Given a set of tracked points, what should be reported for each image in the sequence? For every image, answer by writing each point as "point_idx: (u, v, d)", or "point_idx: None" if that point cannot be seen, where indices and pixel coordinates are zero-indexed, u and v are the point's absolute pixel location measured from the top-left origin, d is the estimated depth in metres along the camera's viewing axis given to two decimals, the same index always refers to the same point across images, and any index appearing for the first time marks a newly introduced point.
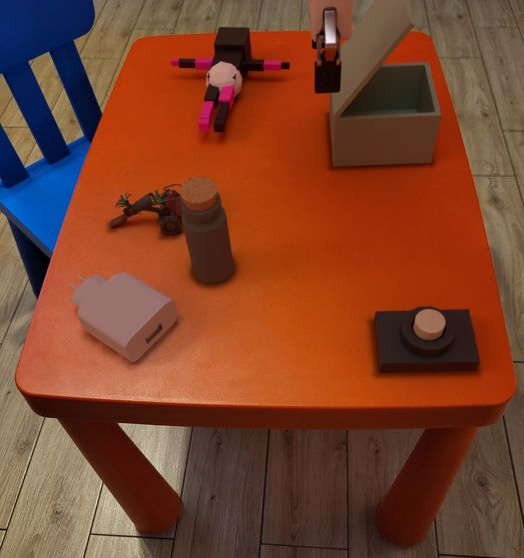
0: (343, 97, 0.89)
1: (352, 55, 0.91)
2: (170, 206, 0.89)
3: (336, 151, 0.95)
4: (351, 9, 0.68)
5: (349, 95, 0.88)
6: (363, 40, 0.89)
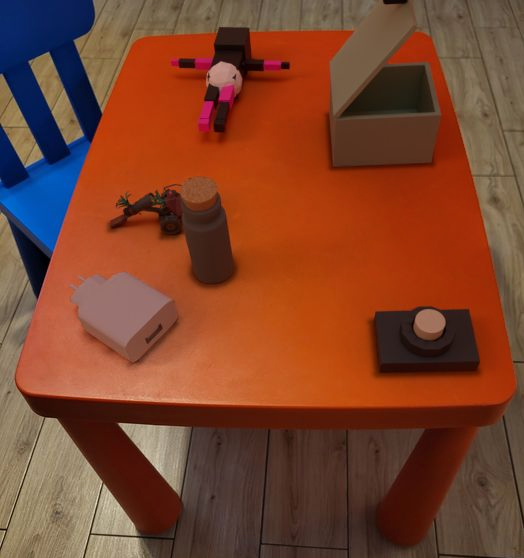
0: (344, 98, 0.89)
1: (353, 56, 0.91)
2: (170, 206, 0.89)
3: (336, 151, 0.95)
4: None
5: (349, 95, 0.88)
6: (365, 41, 0.89)
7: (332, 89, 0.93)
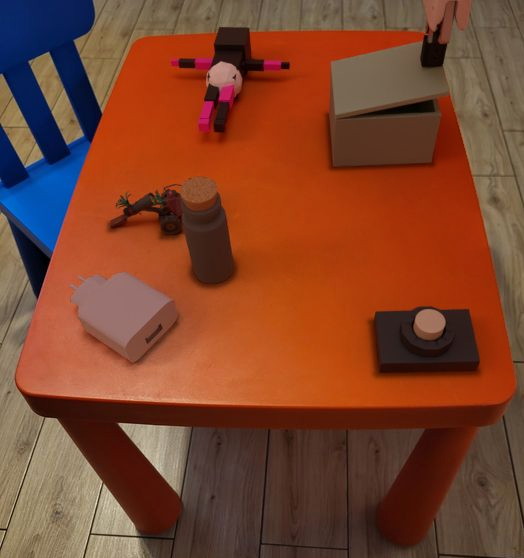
0: (352, 106, 0.90)
1: (367, 74, 0.93)
2: (170, 206, 0.89)
3: (336, 151, 0.95)
4: (470, 2, 0.78)
5: (360, 108, 0.89)
6: (384, 70, 0.93)
7: (334, 89, 0.93)
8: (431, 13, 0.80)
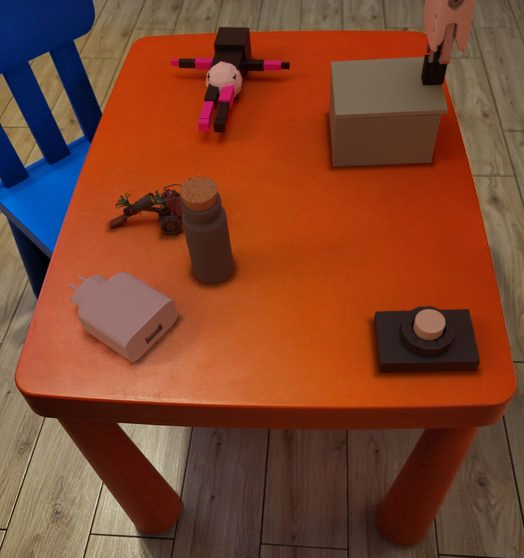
0: (352, 109, 0.90)
1: (367, 80, 0.94)
2: (170, 206, 0.89)
3: (336, 151, 0.95)
4: (470, 25, 0.81)
5: (361, 112, 0.90)
6: (385, 79, 0.94)
7: (335, 89, 0.93)
8: (432, 35, 0.83)
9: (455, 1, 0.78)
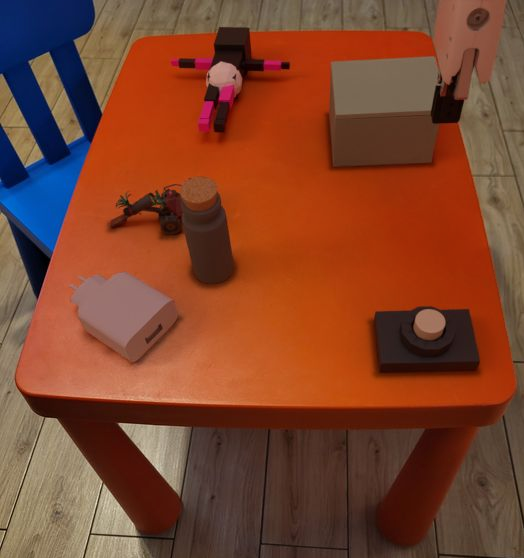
0: (352, 109, 0.90)
1: (367, 80, 0.94)
2: (170, 206, 0.89)
3: (336, 151, 0.95)
4: (495, 50, 0.61)
5: (361, 112, 0.90)
6: (385, 79, 0.94)
7: (335, 89, 0.93)
8: (445, 62, 0.63)
9: (476, 19, 0.59)
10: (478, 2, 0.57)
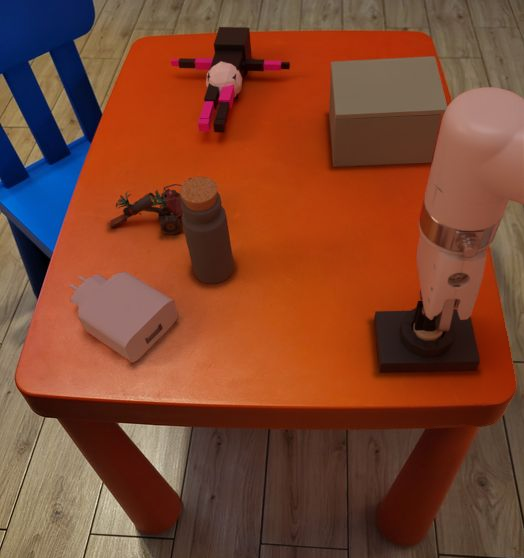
0: (352, 109, 0.90)
1: (367, 80, 0.94)
2: (170, 206, 0.89)
3: (336, 151, 0.95)
4: (475, 299, 0.63)
5: (361, 112, 0.90)
6: (385, 79, 0.94)
7: (335, 89, 0.93)
8: (427, 302, 0.65)
9: (457, 278, 0.61)
10: (458, 268, 0.59)
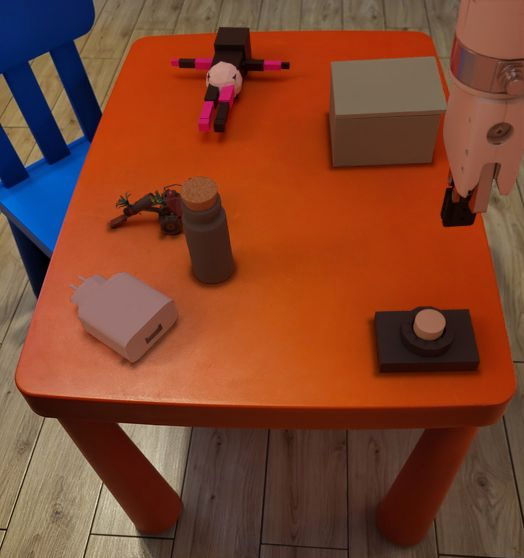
0: (352, 109, 0.90)
1: (367, 80, 0.94)
2: (170, 206, 0.89)
3: (336, 151, 0.95)
4: (519, 163, 0.52)
5: (361, 112, 0.90)
6: (385, 79, 0.94)
7: (335, 89, 0.93)
8: (459, 175, 0.54)
9: (498, 133, 0.50)
10: (500, 116, 0.48)
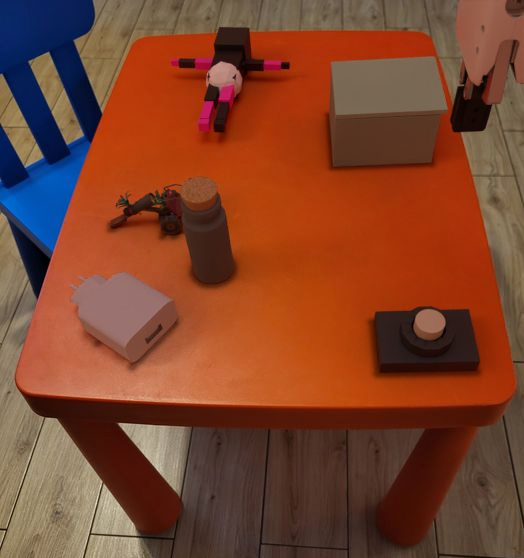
0: (352, 109, 0.90)
1: (367, 80, 0.94)
2: (170, 206, 0.89)
3: (336, 151, 0.95)
4: None
5: (361, 112, 0.90)
6: (385, 79, 0.94)
7: (335, 89, 0.93)
8: (474, 58, 0.50)
9: (517, 3, 0.46)
10: None
